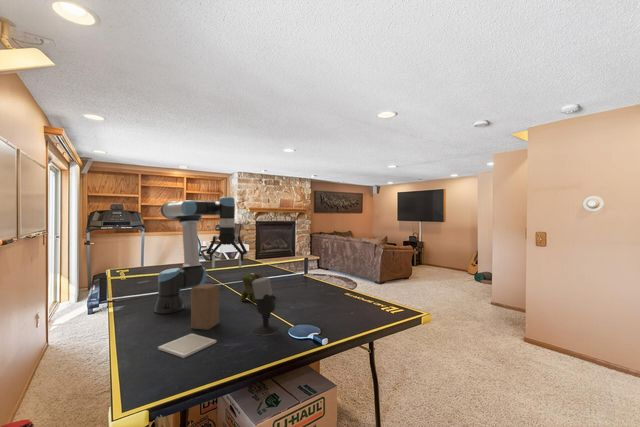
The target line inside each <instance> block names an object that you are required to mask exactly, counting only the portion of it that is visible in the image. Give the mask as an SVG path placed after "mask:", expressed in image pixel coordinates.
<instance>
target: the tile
mask: <svg viewBox="0 0 640 427" xmlns="http://www.w3.org/2000/svg"><path fill="white" fill-rule="evenodd" d="M216 343H217V339H214V338H209V337H207V336H203V335H200V334H196V333H192V332H191V333H189V334H186V335H184V336H182V337H179V338H177V339H175V340H172V341H169V342H167V343H165V344H162V345H159V346H157V350H159V351H163V352H164V353H168V354H171V355H174V356H176V357H180V358H182V359H185V358H186V357H187V358H188V357H190V355H191V356H192V355H194V354H195V353H197V352H199V351H202V350H205V349H206V348H208V347H211V346H212V345H214V344H216Z"/></svg>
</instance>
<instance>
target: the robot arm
mask: <svg viewBox="0 0 640 427" xmlns="http://www.w3.org/2000/svg"><path fill="white" fill-rule="evenodd" d="M235 211H236V203H235V198H234V197H231V196H221V197H220V198H219V201H217V200H216V201H213V200H211V201H210V200H192V199H188V200H179V201H178V200H173V201H172V200H170V201H167V202H164V203H163V204H162V205H161V206H160V213H161V215H162V217H164V218H165V219H168V220H172V221H173V220H174V221H178V224H180V226H181V230H182V243H183V244H182V245H183V260H184V264H183V265H182V266H181V268H179V267H173V268H168V269H165V270H162V271H160V272H159V273H158V276H157V277H158V280H157V294H158V295H157V296H158V297H157V299H156V300H157V301H156V303H155V305H154V312H156V314H159V315H160V314H166V315H167V314H172V313H173V314H174V313H177V312H179V311H182V310H183V309H185V306H184V302H183V299H182V295H181V291H183V290H187V289H188V290H189V289H191V288H193V287H196V286H198V285H201V284H206V281H207V276H208V272H207V270H206V268H205V267H203V264H202V263H201V261H200V252H199V237H198V236H199V235H198V224H199V223H200V220H201V219H202V218H203V216H219V229H218V230H219V236H218V235H214V236H212V240H211V243H210V244H209V246H208V248H207V250H206V252H205V254H206V255H209V261H210V262H211V268H212V269H215V268H216V263H215V262H216V259H215V258H216V257H215V252H216V251H217V250H218V249H219V248H220V247H221V246H222V245H223V246H225V245H229V246H230V245H231V246H233V247H234V249H235V250H236V251H237V252H238V253H239V255H238V268H239V269H240V268H242V262H243V261H244V255H246V254H247V253H248V251H247V249H246V247H245V245H244V243H243V241H242V238H241V235H238V236H236V235H235V233H236V232H235V231H236V230H235V218H236V215H235V214H236V212H235ZM235 240H236V241H238V243H239V245H237V243H236V242H235ZM216 241H219V242H218V244H217V245H216V246H215V244H216ZM214 246H215V247H214ZM239 246H240V247H239ZM213 247H214V248H213Z"/></svg>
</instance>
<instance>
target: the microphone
mask: <svg viewBox="0 0 640 427" xmlns="http://www.w3.org/2000/svg"><path fill="white" fill-rule="evenodd" d="M252 285H253V290H254V295H255V300H256V302H255V304H256V310H257V313H258V314H260V315H261V318H262V324H261V325H257V326H254V327H253V328H251V333H252V334H253V335H256V336H259V335H261V337H264V336H266V337H267V336H271V335H275V334H277V333H279V332H280V327H279V326H278V325H276V324H269V319H270V318H271V313H273V312H274V311H275V308H276V303H275V301H276V296H275V295H274V293H273V289H272V284H271V279H270V277H269V276H266V277H265V276H263V278H259V279H256V280H254V281H253V282H252Z"/></svg>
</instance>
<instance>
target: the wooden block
mask: <svg viewBox="0 0 640 427" xmlns="http://www.w3.org/2000/svg"><path fill="white" fill-rule="evenodd" d="M219 323H220V285H219V284H216V283H215V284H214V283H204V284H201V285H198V286H196V287H193V288H190V328H191V329H193V330H194V329H195V330H207V331H208V330H211V329H212V328H214V327H216V326H217V325H218V324H219Z"/></svg>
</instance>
